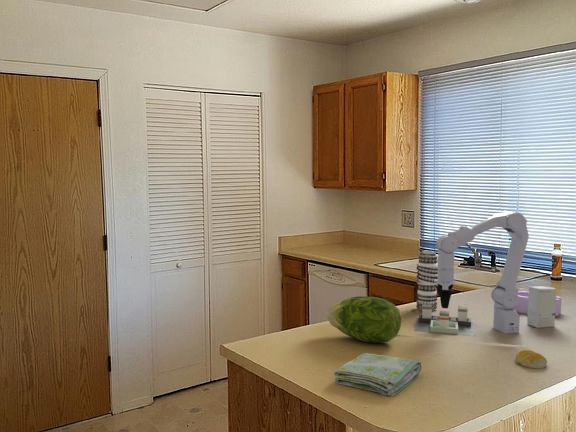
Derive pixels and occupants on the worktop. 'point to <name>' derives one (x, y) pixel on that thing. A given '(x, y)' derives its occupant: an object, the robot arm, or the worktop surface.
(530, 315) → the skincare box
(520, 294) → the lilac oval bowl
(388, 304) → the lettuce
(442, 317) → the block
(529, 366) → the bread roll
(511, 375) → the worktop surface
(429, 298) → the striped tower model
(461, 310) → the block
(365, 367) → the towel
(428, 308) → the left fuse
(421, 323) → the panel
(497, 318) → the robot arm
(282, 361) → the worktop surface
